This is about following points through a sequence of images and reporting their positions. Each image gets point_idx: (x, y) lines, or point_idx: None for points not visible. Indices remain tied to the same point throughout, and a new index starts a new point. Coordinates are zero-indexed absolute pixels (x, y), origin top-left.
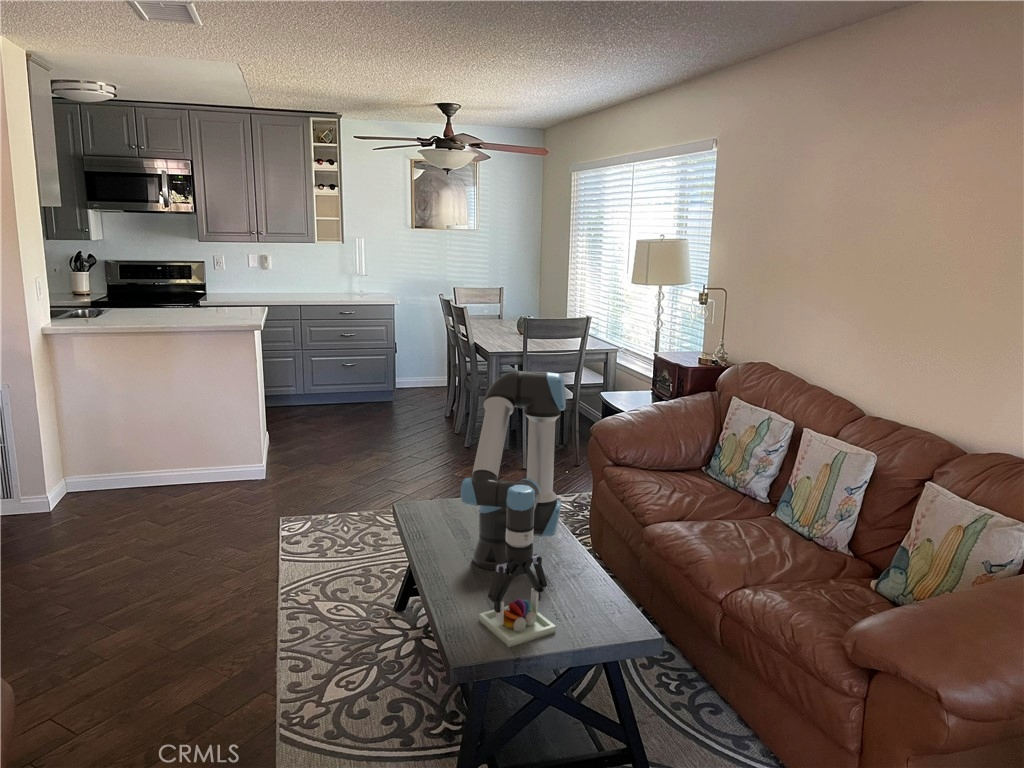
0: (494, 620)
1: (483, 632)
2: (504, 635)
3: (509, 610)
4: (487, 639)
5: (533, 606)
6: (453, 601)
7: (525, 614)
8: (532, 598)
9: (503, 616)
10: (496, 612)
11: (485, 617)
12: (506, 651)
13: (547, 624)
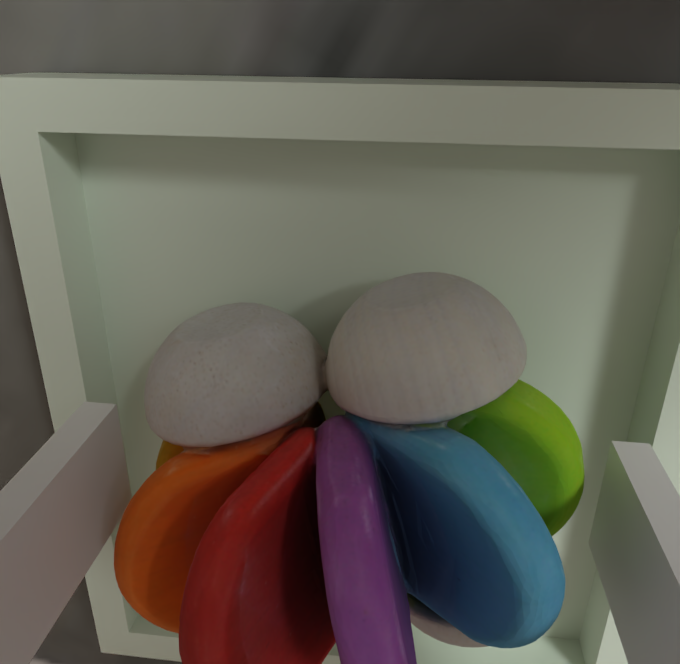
0: (175, 224)
1: (5, 319)
2: (94, 583)
3: (277, 428)
4: (4, 430)
5: (620, 564)
6: None
7: (410, 591)
8: (667, 637)
9: (84, 570)
10: (24, 473)
11: (29, 211)
12: (90, 619)
13: (596, 628)
